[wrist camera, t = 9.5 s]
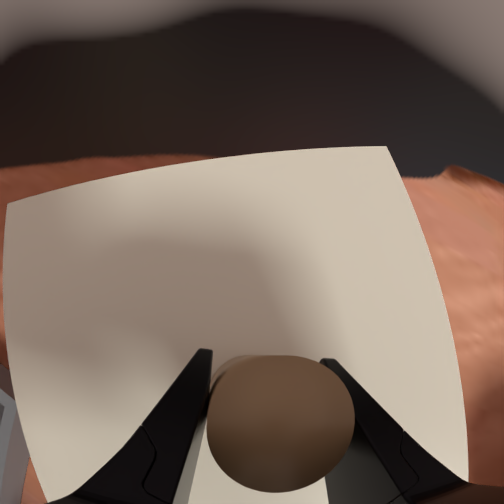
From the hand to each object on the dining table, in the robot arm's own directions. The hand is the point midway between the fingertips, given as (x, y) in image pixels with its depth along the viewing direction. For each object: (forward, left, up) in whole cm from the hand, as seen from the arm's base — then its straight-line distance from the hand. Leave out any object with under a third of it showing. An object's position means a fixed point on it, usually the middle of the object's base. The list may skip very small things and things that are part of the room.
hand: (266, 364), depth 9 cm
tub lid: (-1, 0, -5) cm, 5 cm away
